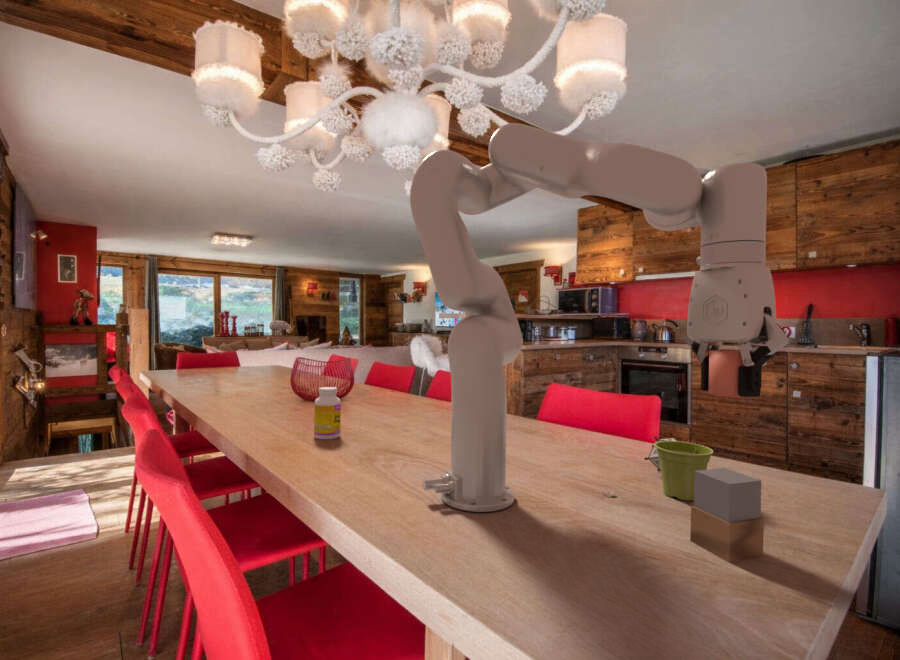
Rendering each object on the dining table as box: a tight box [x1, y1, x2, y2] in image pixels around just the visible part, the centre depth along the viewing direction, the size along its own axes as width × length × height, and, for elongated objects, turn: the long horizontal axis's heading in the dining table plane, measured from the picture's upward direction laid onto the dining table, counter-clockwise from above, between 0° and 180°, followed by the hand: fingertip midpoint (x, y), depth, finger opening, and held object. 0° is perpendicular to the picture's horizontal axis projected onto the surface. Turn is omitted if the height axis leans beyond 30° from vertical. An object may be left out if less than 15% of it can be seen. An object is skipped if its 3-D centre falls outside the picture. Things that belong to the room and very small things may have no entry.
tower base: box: [689, 505, 765, 563], centre depth 61 cm, size 6×6×5 cm
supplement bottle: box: [313, 386, 342, 440], centre depth 118 cm, size 7×7×13 cm
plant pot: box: [653, 440, 714, 502], centre depth 81 cm, size 9×9×9 cm
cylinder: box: [708, 349, 753, 399], centre depth 61 cm, size 5×5×6 cm
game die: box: [643, 434, 683, 472], centre depth 91 cm, size 9×8×10 cm
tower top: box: [693, 467, 762, 523], centre depth 61 cm, size 6×6×5 cm
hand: (729, 391), depth 61 cm, fingers closed on cylinder, 5 cm apart
